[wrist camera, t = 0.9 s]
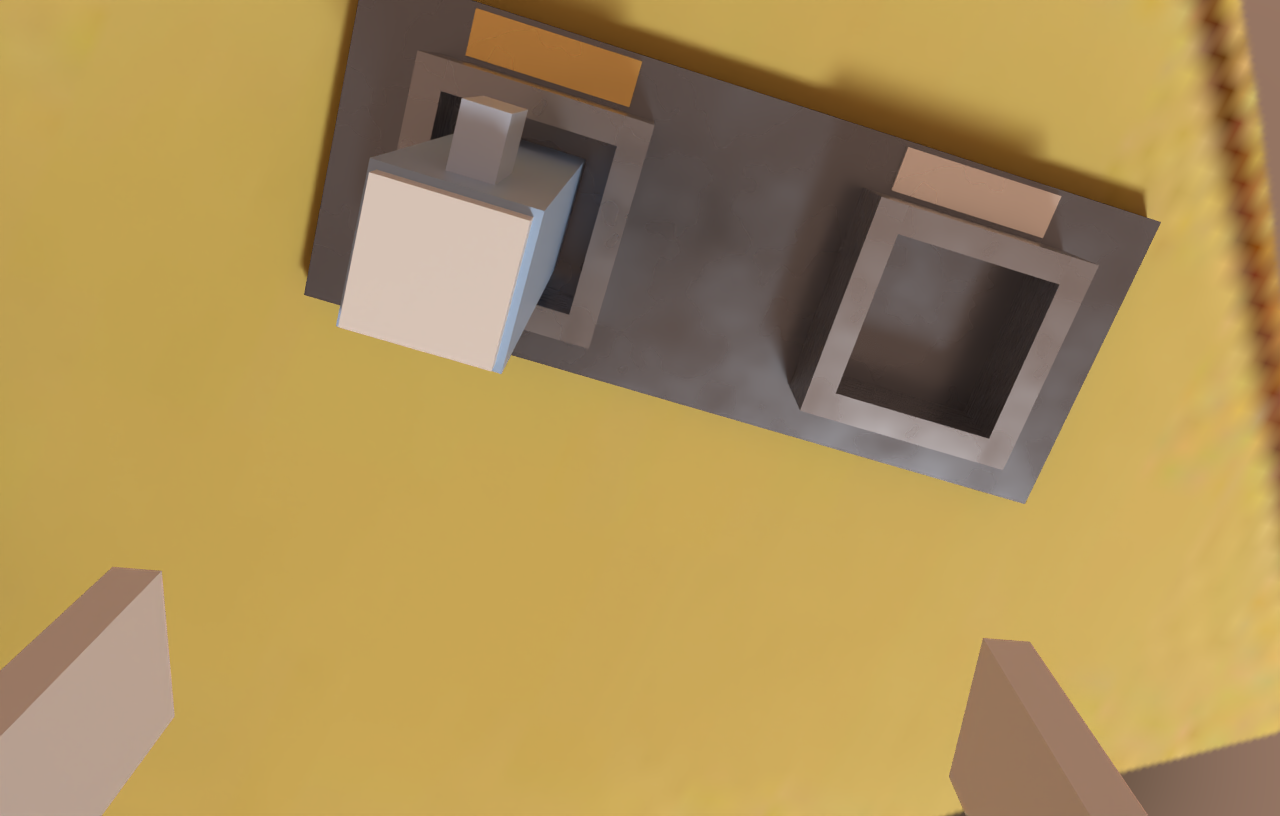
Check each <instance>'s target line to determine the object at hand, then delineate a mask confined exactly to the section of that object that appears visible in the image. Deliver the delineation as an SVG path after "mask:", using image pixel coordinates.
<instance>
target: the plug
mask: <svg viewBox="0 0 1280 816" xmlns="http://www.w3.org/2000/svg"><path fill="white" fill-rule="evenodd" d="M527 112H528V109H525V108H521V107H518V106H515V105H512V104H509V103H505V102H502V101H499V100H496V99H493V98H490V97H486V96H477V97H468V98H462V100H461V104H460V108H459V113H458V117H457V122H456V126H455V131H454V134H451V135H447V136H444V137H440V138H437V139H433V140H430V141H426V142H423V143H420V144H416V145H413V146H409V147H406V148H402V149H399V150H395V151H392V152H388V153H385V154H381V155H378V156H374V157H371V158H370V159H369V164H368V169H367V174H366V179H365V184H364V189H363V194H362V199H361V204H360V209H359V214H358V219H357V224H356V229H355V234H354V239H353V244H352V249H351V254H350V259H349V264H348V269H347V274H346V279H345V284H344V289H343V294H342V299H341V304H340V309H339V314H338V319H337V325H336V326H337V327H340V328H343V329H347V330H350V331H354V332H357V333H360V334H364V335H367V336H371V337H374V338H378V339H381V340H385V341H388V342H392V343H395V344H399V345H402V346H406V347H409V348H413V349H416V350H419V351H423V352H426V353H430V354H433V355H437V356H440V357H444V358H447V359H451V360H454V361H458V362H461V363H465V364H468V365H472V366H475V367H478V368H482V369H485V370H489V371H494V372H497V373H501V374H502V372H503V370H504V368H505V366H506V364H507V362H508V360H509V358H510V356H511V354H512V352H513V350H514V348H515V346H516V344H517V342H518V340H519V338H520V336H521V334H522V332H523V330H524V328H525V326H526V324H527V322H528V320H529V318H530V317H531V315H532V313H533V311H534V309H535V307H536V305H537V303H538V301H539V299H540V297H541V295H542V293H543V291H544V289H545V287H546V285H547V283H548V281H549V279H550V277H551V275H552V273H553V271H554V269H555V267H556V265H557V263H558V259H559V256H560V252H561V248H562V245H563V241H564V237H565V234H566V230H567V227H568V223H569V219H570V216H571V212H572V208H573V205H574V201H575V197H576V194H577V190H578V186H579V183H580V179H581V175H582V172H583V168H584V165H585V161H586V159H583V158H580V157H577V156H574V155H570V154H567V153H564V152H561V151H558V150H554V149H551V148H548V147H545V146H541V145H538V144H535V143H532V142H529V141H525V140H522V139H521V136H522V132H523V128H524V124H525V120H526V116H527Z"/></svg>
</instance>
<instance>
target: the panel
mask: <svg viewBox="0 0 1280 816" xmlns="http://www.w3.org/2000/svg"><path fill="white" fill-rule="evenodd" d="M477 96H486V97H490V98H493V99H496V100H499V101H502V102H505V103H509V104H512V105H515V106H518V107H521V108H525V109H528V112H527V116H526V120H525V124H524V128H523V132H522V136H521V139H522V140H525V141H529V142H532V143H535V144H538V145H541V146H545V147H548V148H551V149H554V150H558V151H561V152H564V153H567V154H570V155H574V156H577V157H580V158H583V159H586V161H585V165H584V168H583V172H582V175H581V179H580V183H579V186H578V190H577V194H576V197H575V201H574V205H573V208H572V212H571V216H570V219H569V223H568V227H567V230H566V234H565V237H564V241H563V245H562V248H561V252H560V256H559V259H558V263H557V265H556V267H555V269H554V271H553V273H552V275H551V277H550V279H549V281H548V283H547V285H546V287H545V289H544V291H543V293H542V295H541V297H540V299H539V301H538V303H537V305H536V307H535V309H534V311H533V313H532V315H531V317H530V318H529V320H528V322H527V324H526V326H525V328H524V330H523V332H522V334H521V336H520V338H519V340H518V342H517V344H516V346H515V348H514V350H513V352H512V354H511V355H513V356H517V357H520V358H524V359H527V360H530V361H534V362H537V363H541V364H544V365H548V366H551V367H555V368H558V369H561V370H565V371H568V372H572V373H575V374H579V375H582V376H586V377H589V378H592V379H596V380H599V381H603V382H606V383H610V384H613V385H617V386H620V387H624V388H627V389H630V390H634V391H637V392H641V393H644V394H648V395H651V396H655V397H658V398H661V399H665V400H668V401H672V402H675V403H679V404H682V405H686V406H689V407H692V408H696V409H699V410H703V411H706V412H710V413H713V414H717V415H720V416H723V417H727V418H730V419H734V420H737V421H741V422H744V423H748V424H751V425H754V426H758V427H761V428H765V429H768V430H772V431H775V432H779V433H782V434H785V435H789V436H792V437H796V438H799V439H803V440H806V441H810V442H813V443H816V444H820V445H823V446H827V447H830V448H834V449H837V450H841V451H844V452H847V453H851V454H854V455H858V456H861V457H865V458H868V459H872V460H875V461H878V462H882V463H885V464H889V465H892V466H896V467H899V468H903V469H906V470H909V471H913V472H916V473H920V474H923V475H927V476H930V477H934V478H937V479H941V480H944V481H947V482H951V483H954V484H958V485H961V486H965V487H968V488H972V489H975V490H978V491H982V492H985V493H989V494H992V495H996V496H999V497H1003V498H1006V499H1009V500H1013V501H1016V502H1020V503H1023V504H1025V503H1026V500H1027V498H1028V496H1029V494H1030V492H1031V490H1032V488H1033V486H1034V484H1035V482H1036V480H1037V478H1038V476H1039V474H1040V471H1041V469H1042V467H1043V465H1044V463H1045V461H1046V459H1047V457H1048V455H1049V453H1050V451H1051V449H1052V447H1053V445H1054V443H1055V440H1056V438H1057V436H1058V434H1059V432H1060V430H1061V428H1062V426H1063V424H1064V422H1065V420H1066V418H1067V416H1068V414H1069V412H1070V409H1071V407H1072V405H1073V403H1074V401H1075V399H1076V397H1077V395H1078V393H1079V391H1080V389H1081V387H1082V385H1083V383H1084V380H1085V378H1086V376H1087V374H1088V372H1089V370H1090V368H1091V366H1092V364H1093V362H1094V360H1095V358H1096V356H1097V354H1098V352H1099V349H1100V347H1101V345H1102V343H1103V341H1104V339H1105V337H1106V335H1107V333H1108V331H1109V329H1110V327H1111V325H1112V323H1113V321H1114V318H1115V316H1116V314H1117V312H1118V310H1119V308H1120V306H1121V304H1122V302H1123V300H1124V298H1125V296H1126V294H1127V292H1128V290H1129V287H1130V285H1131V283H1132V281H1133V279H1134V277H1135V275H1136V273H1137V271H1138V269H1139V267H1140V265H1141V263H1142V261H1143V258H1144V256H1145V254H1146V252H1147V250H1148V248H1149V246H1150V244H1151V242H1152V240H1153V238H1154V236H1155V234H1156V232H1157V230H1158V227H1159V225H1160V223H1161V222H1159V221H1156V220H1153V219H1149V218H1146V217H1143V216H1140V215H1137V214H1134V213H1131V212H1128V211H1125V210H1122V209H1118V208H1115V207H1112V206H1109V205H1106V204H1103V203H1100V202H1097V201H1094V200H1090V199H1087V198H1084V197H1081V196H1078V195H1075V194H1072V193H1069V192H1066V191H1063V190H1059V189H1056V188H1053V187H1050V186H1047V185H1044V184H1041V183H1038V182H1035V181H1031V180H1028V179H1025V178H1022V177H1019V176H1016V175H1013V174H1010V173H1007V172H1004V171H1000V170H997V169H994V168H991V167H988V166H985V165H982V164H979V163H976V162H972V161H969V160H966V159H963V158H960V157H957V156H954V155H951V154H948V153H945V152H941V151H938V150H935V149H932V148H929V147H926V146H923V145H920V144H917V143H913V142H910V141H907V140H904V139H901V138H898V137H895V136H892V135H889V134H886V133H882V132H879V131H876V130H873V129H870V128H867V127H864V126H861V125H858V124H854V123H851V122H848V121H845V120H842V119H839V118H836V117H833V116H830V115H827V114H823V113H820V112H817V111H814V110H811V109H808V108H805V107H802V106H799V105H795V104H792V103H789V102H786V101H783V100H780V99H777V98H774V97H771V96H768V95H764V94H761V93H758V92H755V91H752V90H749V89H746V88H743V87H740V86H736V85H733V84H730V83H727V82H724V81H721V80H718V79H715V78H712V77H709V76H705V75H702V74H699V73H696V72H693V71H690V70H687V69H684V68H681V67H677V66H674V65H671V64H668V63H665V62H662V61H659V60H656V59H653V58H650V57H646V56H643V55H640V54H637V53H634V52H631V51H628V50H625V49H622V48H618V47H615V46H612V45H609V44H606V43H603V42H600V41H597V40H594V39H591V38H587V37H584V36H581V35H578V34H575V33H572V32H569V31H566V30H563V29H559V28H556V27H553V26H550V25H547V24H544V23H541V22H538V21H535V20H532V19H528V18H525V17H522V16H519V15H516V14H513V13H510V12H507V11H504V10H500V9H497V8H494V7H491V6H488V5H485V4H482V3H479V2H476V1H473V0H359V1H358V7H357V12H356V18H355V23H354V28H353V34H352V39H351V45H350V50H349V55H348V61H347V66H346V72H345V77H344V82H343V88H342V93H341V99H340V104H339V109H338V115H337V120H336V126H335V131H334V136H333V142H332V147H331V152H330V158H329V163H328V169H327V174H326V179H325V185H324V190H323V196H322V201H321V206H320V212H319V217H318V223H317V228H316V233H315V239H314V244H313V250H312V255H311V260H310V266H309V271H308V277H307V282H306V287H305V293H304V295H307V296H310V297H313V298H317V299H320V300H324V301H327V302H331V303H334V304H338V305H340V304H341V299H342V294H343V289H344V284H345V279H346V274H347V269H348V264H349V259H350V254H351V249H352V244H353V239H354V234H355V229H356V224H357V219H358V214H359V209H360V204H361V199H362V194H363V189H364V184H365V179H366V174H367V169H368V164H369V159H370V158H371V157H374V156H378V155H381V154H385V153H388V152H392V151H395V150H399V149H402V148H406V147H409V146H413V145H416V144H420V143H423V142H426V141H430V140H433V139H437V138H440V137H444V136H447V135H451V134H454V131H455V126H456V122H457V117H458V113H459V108H460V104H461V100H462V98H468V97H477Z"/></svg>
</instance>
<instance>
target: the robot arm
mask: <svg viewBox="0 0 1280 816" xmlns="http://www.w3.org/2000/svg"><path fill="white" fill-rule="evenodd" d="M173 718H174V705H173V694H172V682H171V671H170V660H169V648H168V637H167V626H166V614H165V603H164V592H163V580H162V571H155V570H143V569H131V568H119V567H112V568H111V569H110V570H109V571H108V572H107V573H106V574H104V575H103V576H102V577H101V578H100V579H99V580H98V581H97V582H96V583H95V584H94V585H93V586H91V587H90V588H89V589H88V590H87V591H86V592H85V593H84V594H83V595H82V596H81V597H80V598H78V599H77V600H76V601H75V602H74V603H73V604H72V605H71V606H70V607H69V608H68V609H67V610H65V611H64V612H63V613H62V614H61V615H60V616H59V617H58V618H57V619H56V620H55V621H54V622H52V623H51V624H50V625H49V626H48V627H47V628H46V629H45V630H44V631H43V632H42V633H41V634H39V635H38V636H37V637H36V638H35V639H34V640H33V641H32V642H31V643H30V644H29V645H28V646H26V647H25V648H24V649H23V650H22V651H21V652H20V653H19V654H18V655H17V656H16V657H15V658H13V659H12V660H11V661H10V662H9V663H8V664H7V665H6V666H5V667H4V668H3V669H2V670H0V816H102V814H103V813H104V812H105V810H106V809H107V808H108V806H109V805H110V804H111V802H112V801H113V799H114V798H115V797H116V795H117V794H118V793H119V791H120V790H121V789H122V787H123V786H124V784H125V783H126V782H127V780H128V779H129V778H130V776H131V775H132V774H133V772H134V771H135V769H136V768H137V767H138V765H139V764H140V763H141V761H142V760H143V759H144V757H145V756H146V754H147V753H148V752H149V750H150V749H151V748H152V746H153V745H154V744H155V742H156V741H157V739H158V738H159V737H160V735H161V734H162V733H163V731H164V730H165V729H166V727H167V726H168V724H169V723H170V722H171V720H172V719H173ZM949 778H950V780H951V782H952V785H953V787H954V789H955V791H956V794H957V796H958V798H959V801H960V803H961V805H962V808H963V810H964V812H965V814H966V816H1148V815H1147V813H1146V812H1145V810H1144V809H1143V807H1142V806H1141V804H1140V803H1139V801H1138V800H1137V798H1136V797H1135V795H1134V794H1133V793H1132V791H1131V790H1130V788H1129V787H1128V785H1127V784H1126V783H1125V781H1124V779H1123V778H1122V776H1121V775H1120V773H1119V772H1118V771H1117V769H1116V768H1115V766H1114V765H1113V763H1112V762H1111V760H1110V759H1109V757H1108V756H1107V754H1106V753H1105V751H1104V750H1103V749H1102V747H1101V746H1100V744H1099V743H1098V741H1097V740H1096V738H1095V737H1094V735H1093V734H1092V732H1091V731H1090V729H1089V728H1088V726H1087V725H1086V724H1085V722H1084V721H1083V719H1082V718H1081V716H1080V715H1079V713H1078V712H1077V710H1076V709H1075V707H1074V706H1073V704H1072V703H1071V702H1070V700H1069V699H1068V697H1067V696H1066V694H1065V693H1064V691H1063V690H1062V688H1061V687H1060V685H1059V684H1058V682H1057V681H1056V680H1055V678H1054V677H1053V675H1052V674H1051V672H1050V671H1049V669H1048V668H1047V666H1046V665H1045V663H1044V662H1043V660H1042V659H1041V657H1040V656H1039V655H1038V653H1037V652H1036V650H1035V649H1034V647H1033V646H1032V644H1031V643H1030V642H1025V641H1012V640H1000V639H988V638H983V641H982V645H981V649H980V653H979V657H978V661H977V665H976V669H975V673H974V677H973V681H972V685H971V689H970V693H969V697H968V701H967V706H966V710H965V714H964V718H963V722H962V726H961V730H960V734H959V738H958V742H957V746H956V750H955V754H954V758H953V762H952V766H951V770H950V775H949Z"/></svg>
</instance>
